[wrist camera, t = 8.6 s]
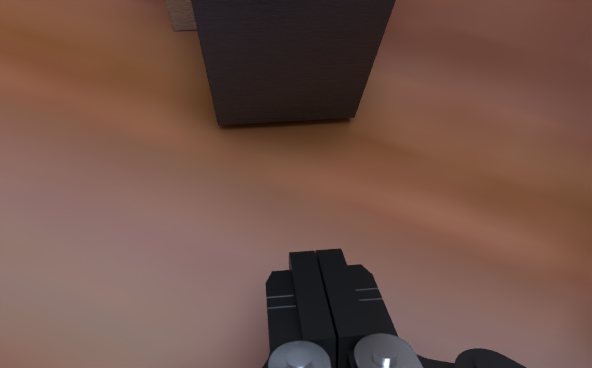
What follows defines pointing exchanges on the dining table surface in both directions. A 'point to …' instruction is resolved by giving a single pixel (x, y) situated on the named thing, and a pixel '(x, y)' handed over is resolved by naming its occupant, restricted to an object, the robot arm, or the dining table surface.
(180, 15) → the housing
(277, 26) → the dark boxy piece
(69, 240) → the dining table surface
